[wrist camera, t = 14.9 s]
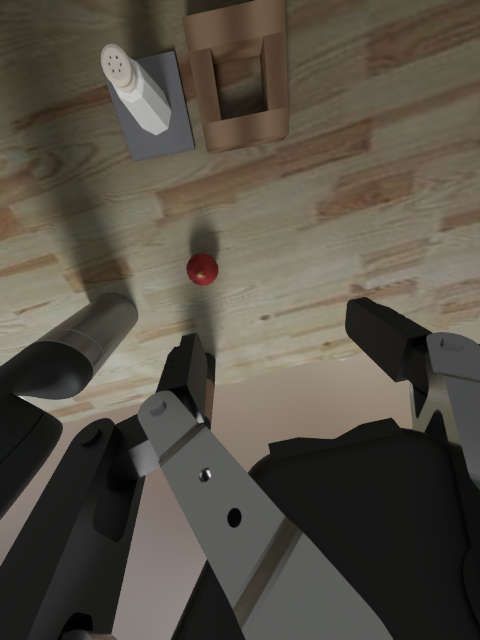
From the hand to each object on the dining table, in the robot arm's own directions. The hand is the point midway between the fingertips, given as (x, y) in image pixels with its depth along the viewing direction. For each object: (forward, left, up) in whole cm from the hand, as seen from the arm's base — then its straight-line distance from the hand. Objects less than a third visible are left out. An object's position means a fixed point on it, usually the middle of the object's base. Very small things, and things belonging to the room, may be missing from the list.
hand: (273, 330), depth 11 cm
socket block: (+3, +20, -32) cm, 38 cm away
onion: (-8, -3, -33) cm, 34 cm away
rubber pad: (-10, +20, -32) cm, 39 cm away
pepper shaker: (-10, +20, -32) cm, 39 cm away
